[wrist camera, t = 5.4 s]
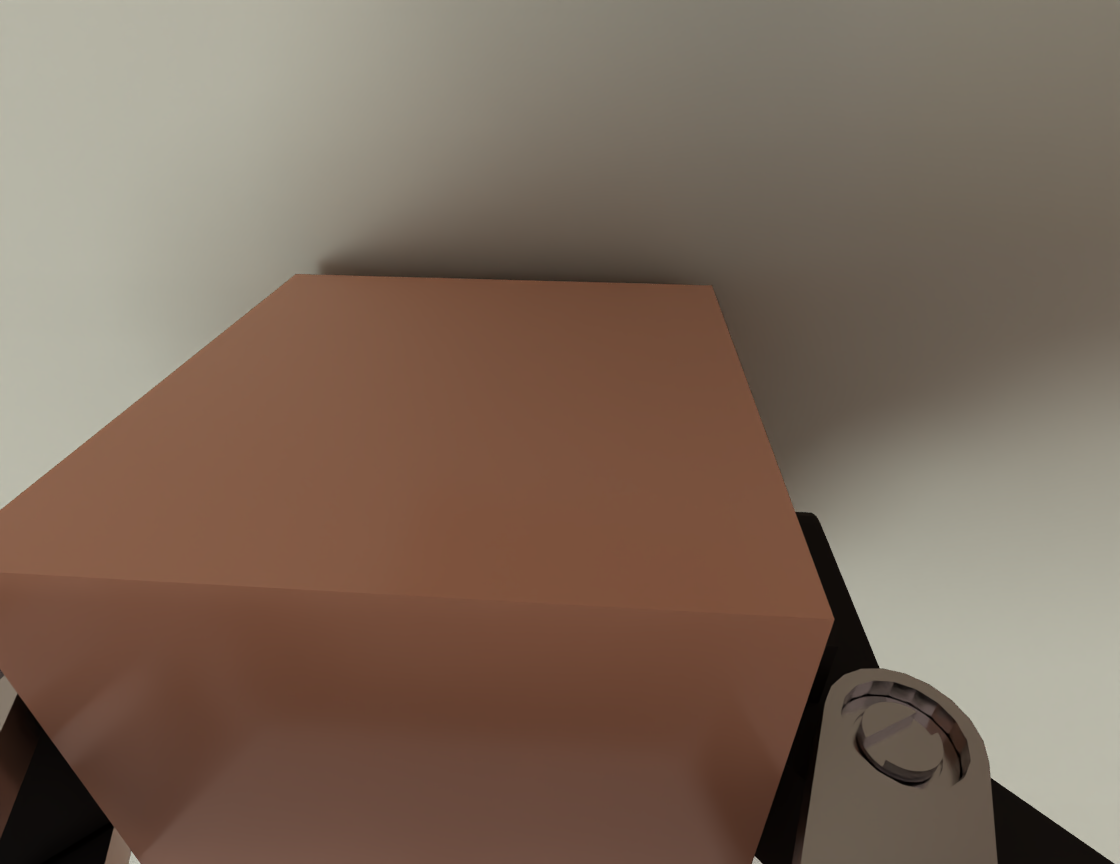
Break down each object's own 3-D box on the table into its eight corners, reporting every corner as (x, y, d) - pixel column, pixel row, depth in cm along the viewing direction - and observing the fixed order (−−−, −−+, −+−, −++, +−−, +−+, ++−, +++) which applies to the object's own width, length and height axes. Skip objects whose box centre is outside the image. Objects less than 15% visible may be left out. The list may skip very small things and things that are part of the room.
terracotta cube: (711, 285, 9) (833, 619, 4) (671, 589, 12) (710, 985, 7) (295, 274, 9) (-74, 568, 4) (363, 572, 13) (195, 940, 8)
